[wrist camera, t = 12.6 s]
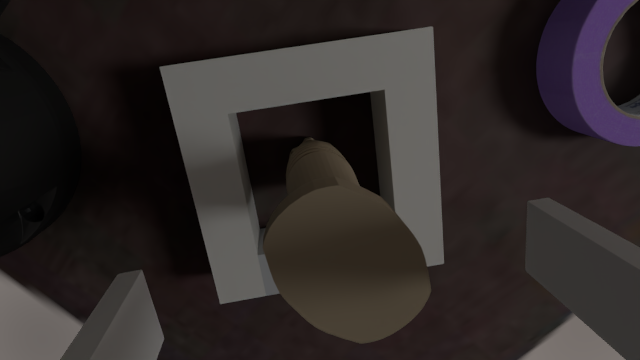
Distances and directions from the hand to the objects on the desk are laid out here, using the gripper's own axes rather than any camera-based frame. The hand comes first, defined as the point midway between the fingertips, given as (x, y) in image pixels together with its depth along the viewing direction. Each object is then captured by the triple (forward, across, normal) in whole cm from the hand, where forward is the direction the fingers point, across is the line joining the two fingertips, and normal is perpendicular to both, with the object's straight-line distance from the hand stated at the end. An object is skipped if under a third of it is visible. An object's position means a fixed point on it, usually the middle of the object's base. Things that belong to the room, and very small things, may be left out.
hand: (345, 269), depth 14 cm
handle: (+15, 0, 0) cm, 15 cm away
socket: (+15, 0, 0) cm, 15 cm away
